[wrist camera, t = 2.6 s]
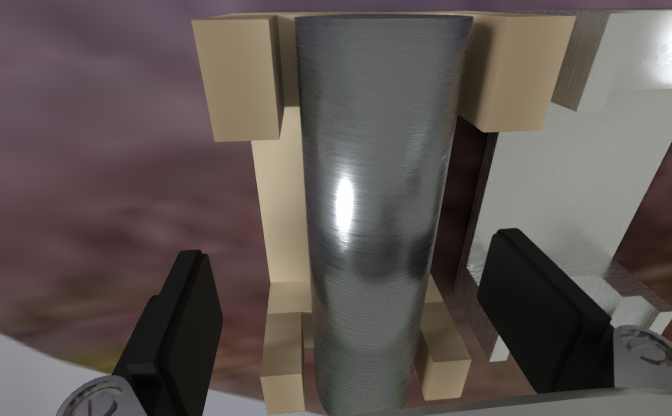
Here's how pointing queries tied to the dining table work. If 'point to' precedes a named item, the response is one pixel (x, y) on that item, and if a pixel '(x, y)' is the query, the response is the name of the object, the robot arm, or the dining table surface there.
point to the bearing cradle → (288, 177)
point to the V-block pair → (581, 168)
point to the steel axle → (374, 190)
